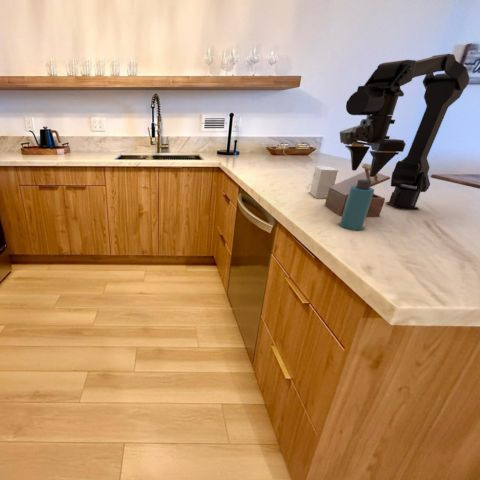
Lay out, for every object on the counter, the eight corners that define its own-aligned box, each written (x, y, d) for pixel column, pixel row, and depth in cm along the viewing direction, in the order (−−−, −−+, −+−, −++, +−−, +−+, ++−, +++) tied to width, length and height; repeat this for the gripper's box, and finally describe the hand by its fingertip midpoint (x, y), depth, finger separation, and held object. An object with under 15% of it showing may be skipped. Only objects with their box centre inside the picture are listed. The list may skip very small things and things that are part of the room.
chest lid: (368, 171, 93) (365, 159, 92) (390, 178, 84) (387, 165, 82) (329, 188, 96) (325, 176, 95) (346, 197, 87) (342, 184, 85)
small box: (331, 198, 106) (338, 170, 101) (314, 198, 107) (321, 169, 102) (324, 193, 113) (331, 166, 109) (309, 192, 114) (315, 165, 110)
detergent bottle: (353, 222, 83) (366, 178, 78) (366, 230, 78) (382, 183, 73) (335, 223, 83) (347, 178, 78) (348, 230, 78) (362, 183, 73)
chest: (359, 206, 98) (364, 189, 96) (379, 216, 88) (385, 198, 86) (324, 205, 99) (328, 188, 96) (340, 215, 89) (345, 197, 87)
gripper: (332, 114, 86) (320, 167, 93) (368, 115, 69) (350, 179, 76) (371, 114, 86) (355, 167, 92) (417, 116, 69) (394, 180, 75)
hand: (362, 173), depth 84 cm, fingers open, 9 cm apart
